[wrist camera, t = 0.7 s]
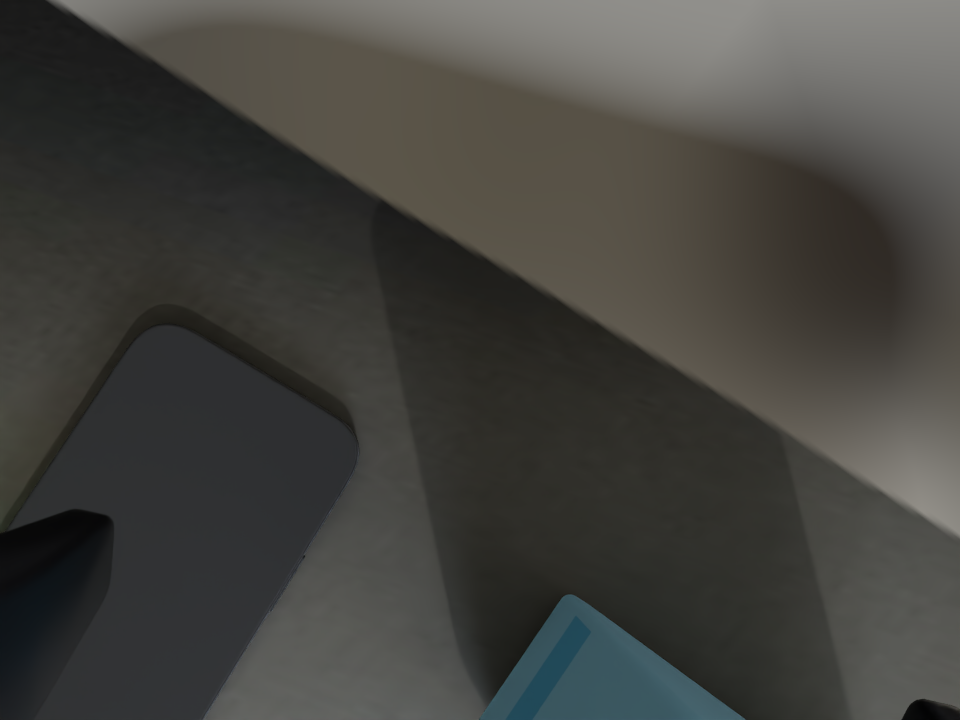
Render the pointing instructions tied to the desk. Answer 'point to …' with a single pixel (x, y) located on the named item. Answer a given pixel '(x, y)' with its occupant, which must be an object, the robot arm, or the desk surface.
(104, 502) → the phone
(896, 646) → the desk surface
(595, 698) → the data package
